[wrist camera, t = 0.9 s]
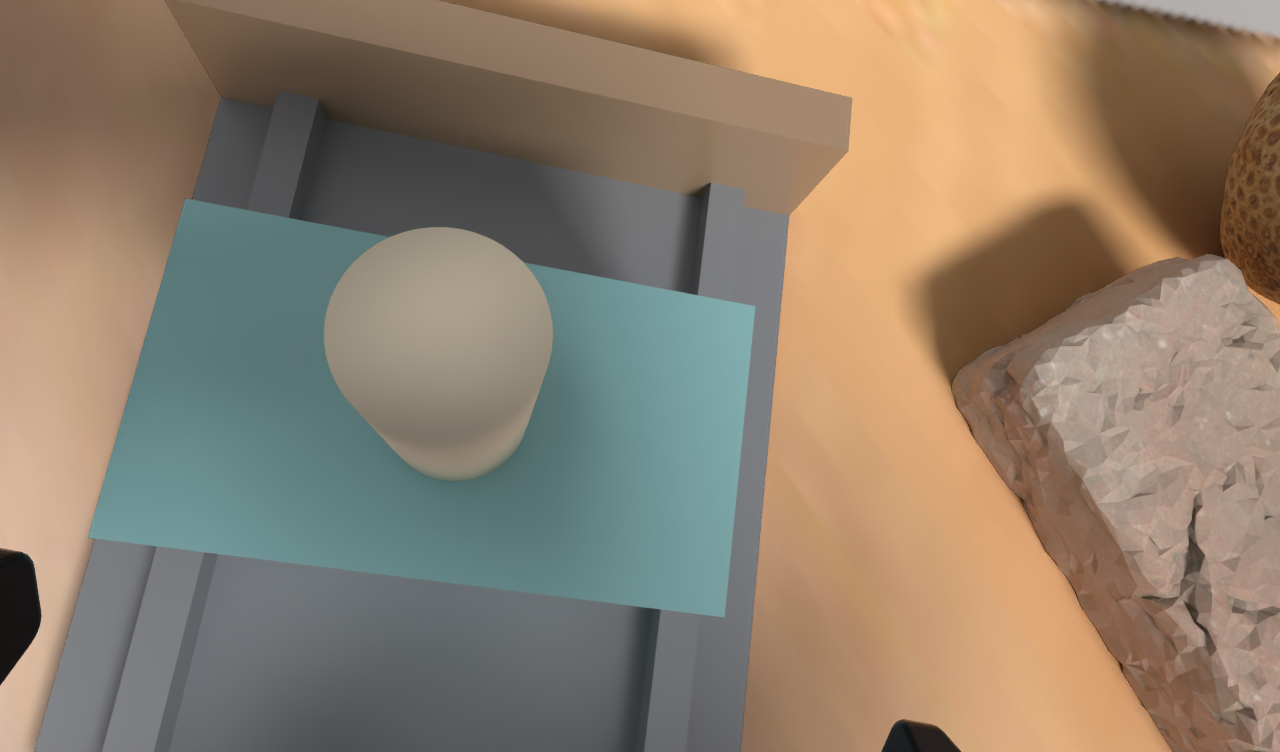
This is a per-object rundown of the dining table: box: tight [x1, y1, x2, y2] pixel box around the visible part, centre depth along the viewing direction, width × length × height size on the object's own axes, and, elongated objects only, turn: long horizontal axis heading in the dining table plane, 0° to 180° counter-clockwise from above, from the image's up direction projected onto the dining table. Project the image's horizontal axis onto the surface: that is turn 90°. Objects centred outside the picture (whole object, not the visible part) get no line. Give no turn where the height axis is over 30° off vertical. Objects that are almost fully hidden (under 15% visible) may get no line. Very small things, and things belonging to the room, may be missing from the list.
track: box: [34, 0, 852, 752], centre depth 19 cm, size 19×16×5 cm
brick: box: [951, 254, 1280, 752], centre depth 23 cm, size 17×8×5 cm, turn 31°
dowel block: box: [88, 198, 755, 617], centre depth 14 cm, size 6×10×12 cm, turn 82°
